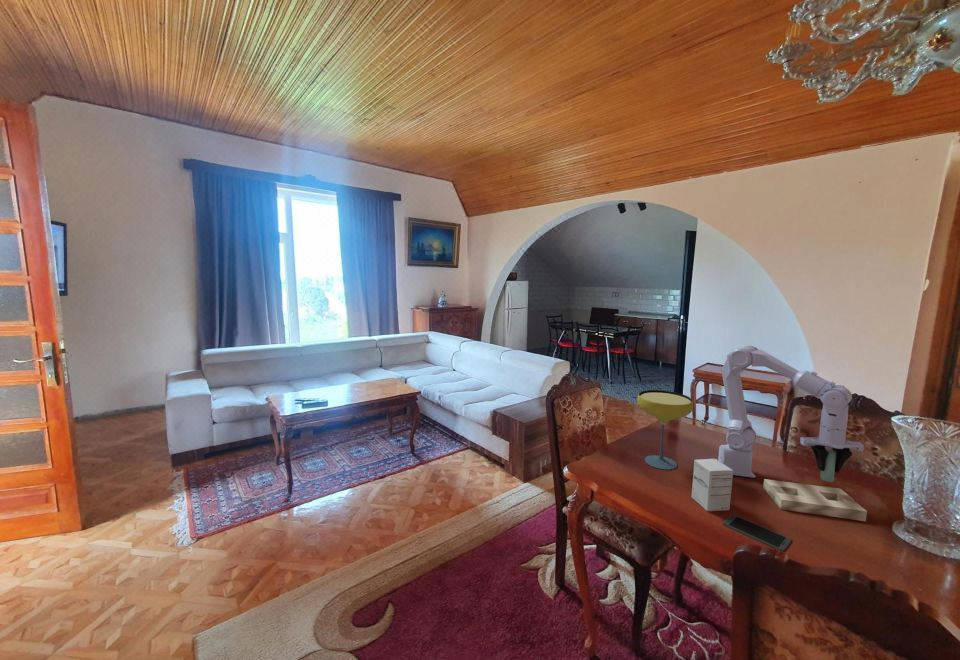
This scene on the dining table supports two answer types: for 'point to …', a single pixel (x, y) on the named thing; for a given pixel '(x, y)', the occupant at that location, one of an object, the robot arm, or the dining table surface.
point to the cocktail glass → (664, 417)
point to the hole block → (814, 500)
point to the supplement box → (712, 484)
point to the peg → (829, 467)
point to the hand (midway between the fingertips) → (828, 470)
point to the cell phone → (757, 532)
